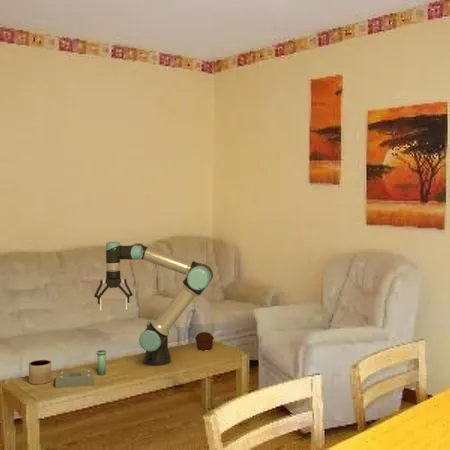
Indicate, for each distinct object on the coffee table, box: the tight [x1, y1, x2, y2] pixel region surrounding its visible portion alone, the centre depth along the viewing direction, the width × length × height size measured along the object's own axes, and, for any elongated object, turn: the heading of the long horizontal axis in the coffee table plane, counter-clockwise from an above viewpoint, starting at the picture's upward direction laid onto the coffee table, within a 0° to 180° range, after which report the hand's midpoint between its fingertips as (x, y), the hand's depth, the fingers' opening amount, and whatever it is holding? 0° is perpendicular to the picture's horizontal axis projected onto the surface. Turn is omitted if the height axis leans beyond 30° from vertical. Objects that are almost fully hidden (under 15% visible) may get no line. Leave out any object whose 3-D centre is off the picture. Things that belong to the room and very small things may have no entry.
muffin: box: [194, 331, 215, 352], centre depth 350 cm, size 12×11×10 cm
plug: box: [96, 349, 107, 376], centre depth 299 cm, size 5×5×12 cm
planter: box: [28, 359, 53, 385], centre depth 288 cm, size 11×11×10 cm
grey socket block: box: [55, 369, 95, 389], centre depth 286 cm, size 18×12×5 cm, turn 103°
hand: (113, 309), depth 310 cm, fingers open, 13 cm apart
